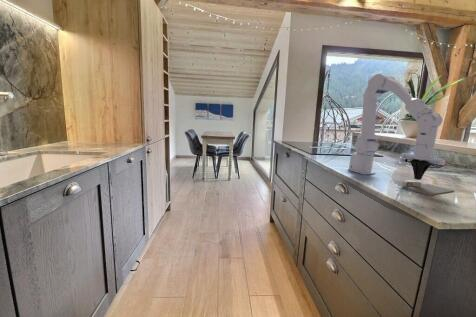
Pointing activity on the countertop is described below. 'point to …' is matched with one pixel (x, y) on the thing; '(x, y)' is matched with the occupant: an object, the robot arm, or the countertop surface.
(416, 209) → the countertop surface
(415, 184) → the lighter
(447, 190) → the mat
